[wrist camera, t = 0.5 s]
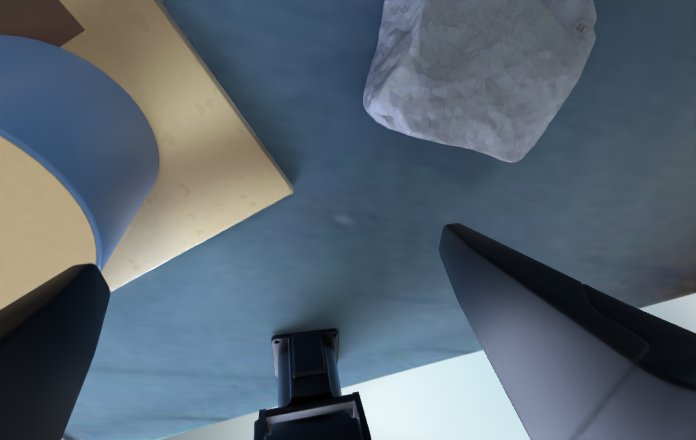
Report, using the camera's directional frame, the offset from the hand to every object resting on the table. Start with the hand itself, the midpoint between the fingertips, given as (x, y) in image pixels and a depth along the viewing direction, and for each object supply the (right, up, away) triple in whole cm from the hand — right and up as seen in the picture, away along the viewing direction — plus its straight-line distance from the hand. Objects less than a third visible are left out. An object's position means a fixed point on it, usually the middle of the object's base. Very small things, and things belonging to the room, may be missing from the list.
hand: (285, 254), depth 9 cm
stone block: (+9, +11, +11) cm, 18 cm away
